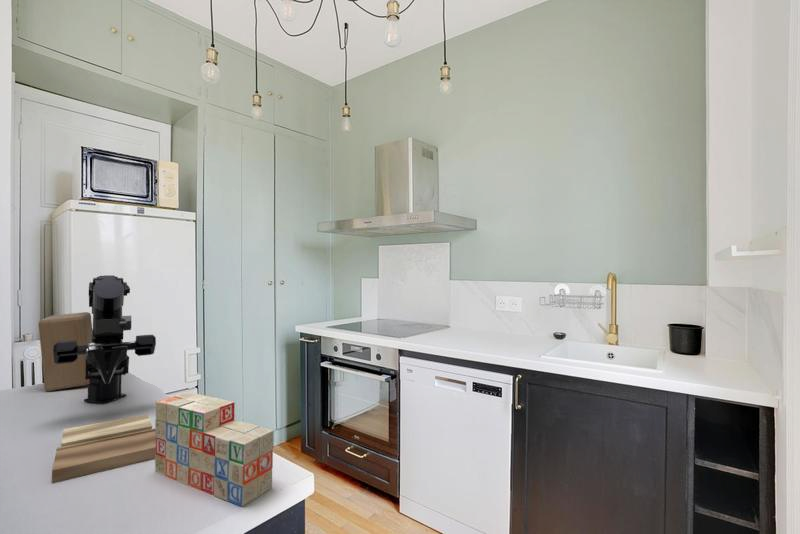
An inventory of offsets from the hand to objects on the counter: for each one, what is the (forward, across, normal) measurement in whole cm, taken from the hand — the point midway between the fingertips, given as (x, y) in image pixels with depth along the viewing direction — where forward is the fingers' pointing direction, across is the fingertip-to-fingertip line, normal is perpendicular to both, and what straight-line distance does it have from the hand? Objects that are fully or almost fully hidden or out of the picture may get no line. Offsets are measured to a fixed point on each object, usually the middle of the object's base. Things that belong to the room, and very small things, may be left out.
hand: (107, 382), depth 87 cm
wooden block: (-17, -8, +36) cm, 41 cm away
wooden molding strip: (+20, 0, -10) cm, 22 cm away
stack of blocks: (+31, +14, -24) cm, 42 cm away
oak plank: (+10, 0, 0) cm, 10 cm away
